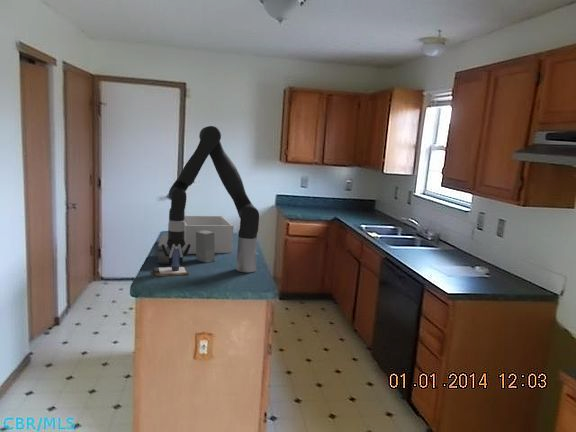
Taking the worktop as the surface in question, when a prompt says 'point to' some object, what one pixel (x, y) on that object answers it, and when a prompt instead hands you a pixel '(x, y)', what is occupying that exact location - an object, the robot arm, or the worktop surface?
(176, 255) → the marker
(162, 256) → the grey curved block
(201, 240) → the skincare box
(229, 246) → the storage bin
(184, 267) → the clipboard
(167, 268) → the paper
